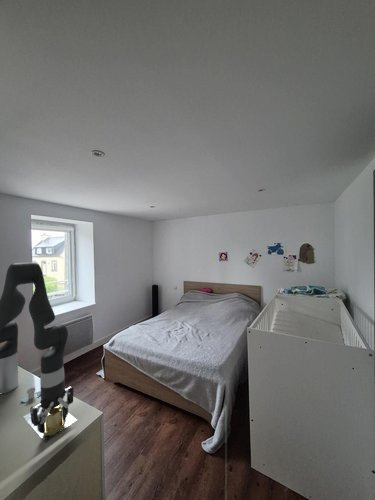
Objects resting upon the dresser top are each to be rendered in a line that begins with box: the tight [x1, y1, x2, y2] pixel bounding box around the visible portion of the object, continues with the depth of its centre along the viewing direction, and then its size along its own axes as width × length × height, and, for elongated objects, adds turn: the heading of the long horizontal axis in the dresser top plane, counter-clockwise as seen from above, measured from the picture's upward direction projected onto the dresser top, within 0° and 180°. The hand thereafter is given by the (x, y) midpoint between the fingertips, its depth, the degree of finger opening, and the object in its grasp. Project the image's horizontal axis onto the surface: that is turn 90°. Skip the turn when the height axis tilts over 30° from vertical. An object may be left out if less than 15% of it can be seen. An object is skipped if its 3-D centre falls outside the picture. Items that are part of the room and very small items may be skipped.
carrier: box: [22, 404, 78, 443], centre depth 81 cm, size 21×11×5 cm, turn 57°
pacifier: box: [20, 386, 41, 403], centre depth 94 cm, size 7×6×6 cm
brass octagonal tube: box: [43, 405, 66, 436], centre depth 75 cm, size 7×7×6 cm
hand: (54, 424), depth 75 cm, fingers closed on brass octagonal tube, 7 cm apart
